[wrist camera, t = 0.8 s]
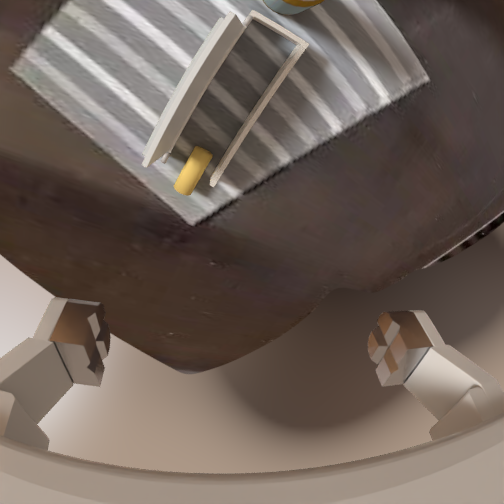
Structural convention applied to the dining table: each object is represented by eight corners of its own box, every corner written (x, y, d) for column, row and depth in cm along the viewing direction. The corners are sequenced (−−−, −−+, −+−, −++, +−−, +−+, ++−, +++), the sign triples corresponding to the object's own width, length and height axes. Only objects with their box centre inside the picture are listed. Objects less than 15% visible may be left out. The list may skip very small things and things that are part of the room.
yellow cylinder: (198, 144, 46) (192, 148, 44) (214, 154, 47) (209, 158, 44) (177, 181, 50) (171, 187, 47) (193, 191, 50) (187, 197, 47)
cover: (243, 26, 33) (235, 22, 33) (235, 14, 26) (224, 8, 26) (168, 151, 42) (160, 146, 42) (146, 167, 35) (137, 162, 35)
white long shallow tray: (250, 12, 35) (252, 8, 31) (303, 44, 38) (310, 43, 34) (164, 153, 46) (159, 162, 43) (214, 178, 49) (213, 189, 46)
